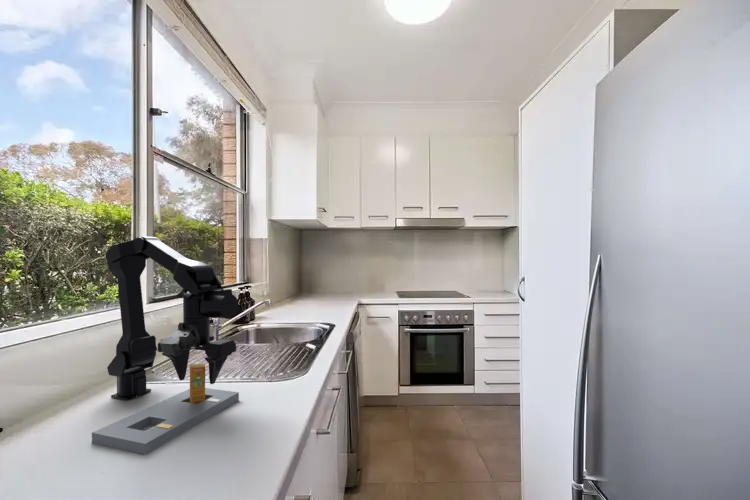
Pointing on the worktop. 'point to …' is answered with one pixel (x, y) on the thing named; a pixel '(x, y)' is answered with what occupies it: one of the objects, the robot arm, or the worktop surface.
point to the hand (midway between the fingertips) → (197, 381)
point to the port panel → (162, 421)
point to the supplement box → (197, 383)
